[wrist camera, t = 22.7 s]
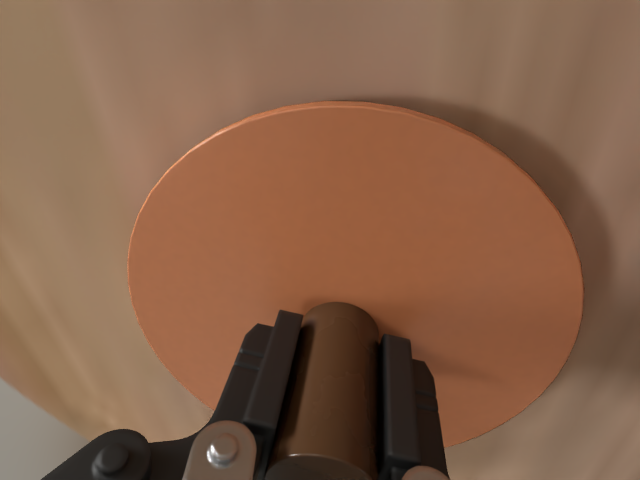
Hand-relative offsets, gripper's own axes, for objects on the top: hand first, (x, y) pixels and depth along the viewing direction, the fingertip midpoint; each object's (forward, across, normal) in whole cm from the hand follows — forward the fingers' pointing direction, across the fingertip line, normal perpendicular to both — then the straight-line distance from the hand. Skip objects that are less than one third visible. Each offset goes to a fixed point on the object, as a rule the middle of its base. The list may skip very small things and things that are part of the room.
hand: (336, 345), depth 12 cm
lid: (+1, 0, 0) cm, 1 cm away
